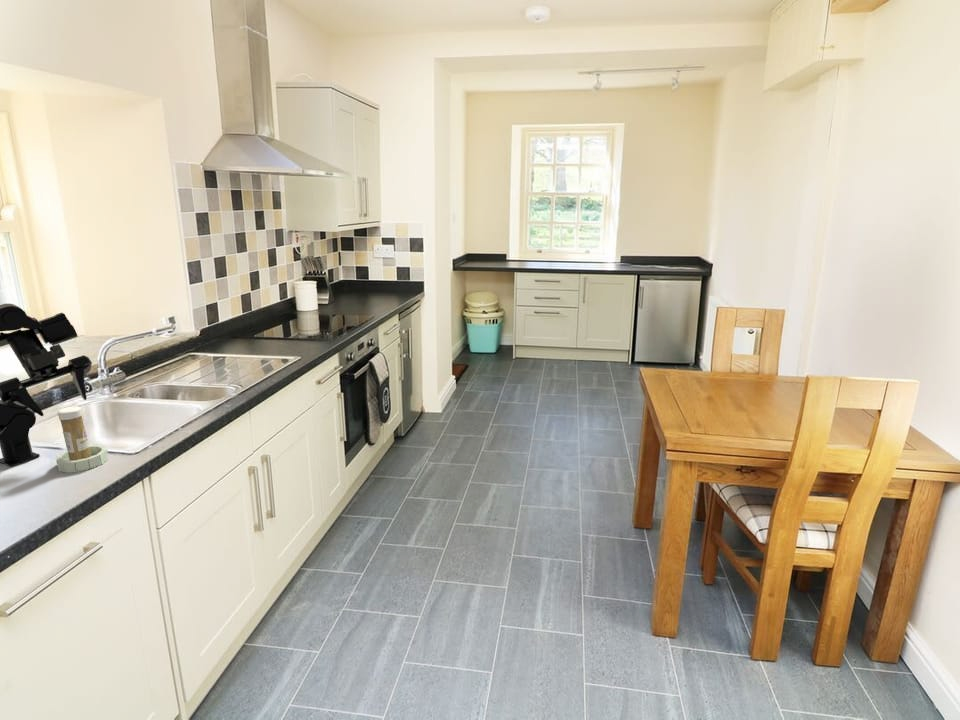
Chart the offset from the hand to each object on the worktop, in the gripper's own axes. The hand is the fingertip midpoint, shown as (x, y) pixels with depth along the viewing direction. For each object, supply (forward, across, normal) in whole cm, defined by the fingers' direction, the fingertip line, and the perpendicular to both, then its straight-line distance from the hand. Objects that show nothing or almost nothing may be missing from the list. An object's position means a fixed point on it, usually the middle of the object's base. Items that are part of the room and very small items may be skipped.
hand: (64, 407), depth 138 cm
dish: (+13, -2, +4) cm, 14 cm away
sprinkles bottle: (+13, -2, +4) cm, 14 cm away
